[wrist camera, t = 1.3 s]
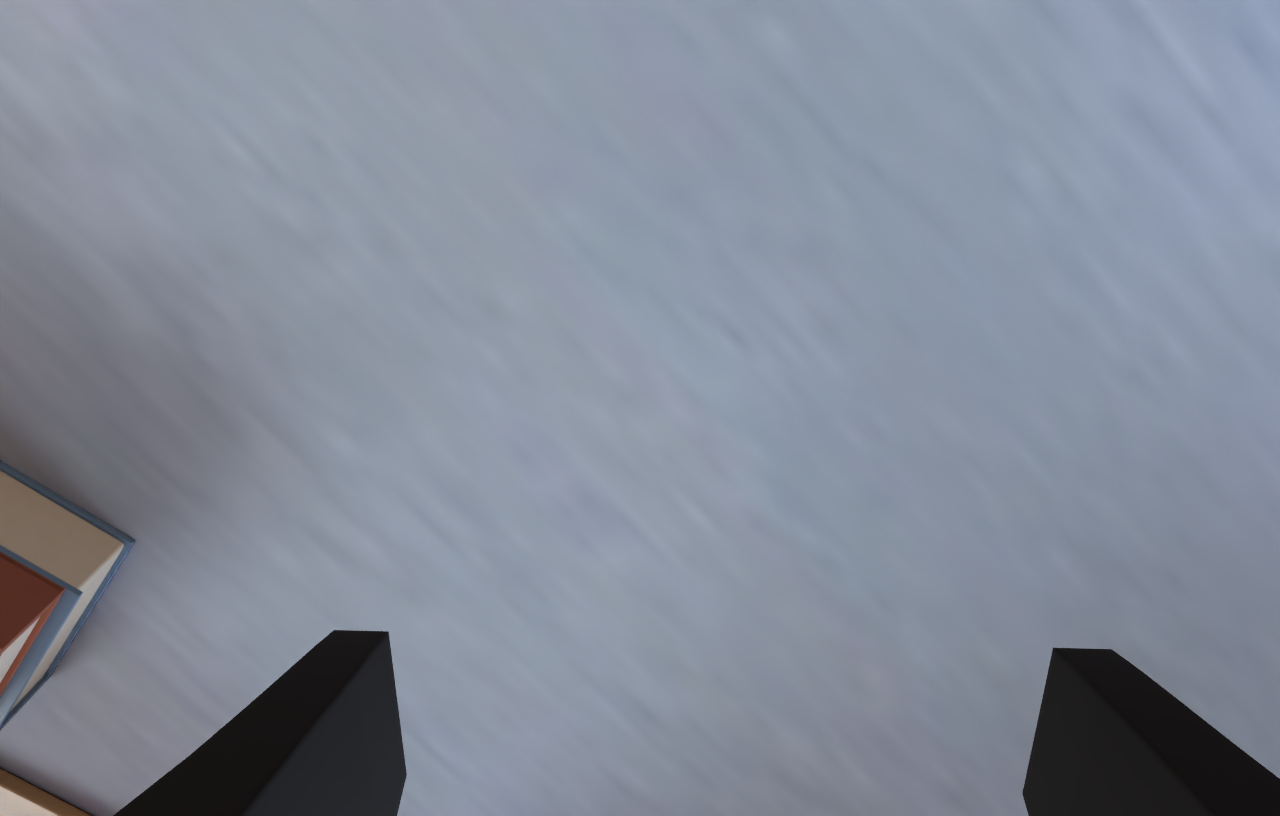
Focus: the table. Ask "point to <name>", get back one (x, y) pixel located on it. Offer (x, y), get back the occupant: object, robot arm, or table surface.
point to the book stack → (46, 581)
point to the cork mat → (30, 800)
